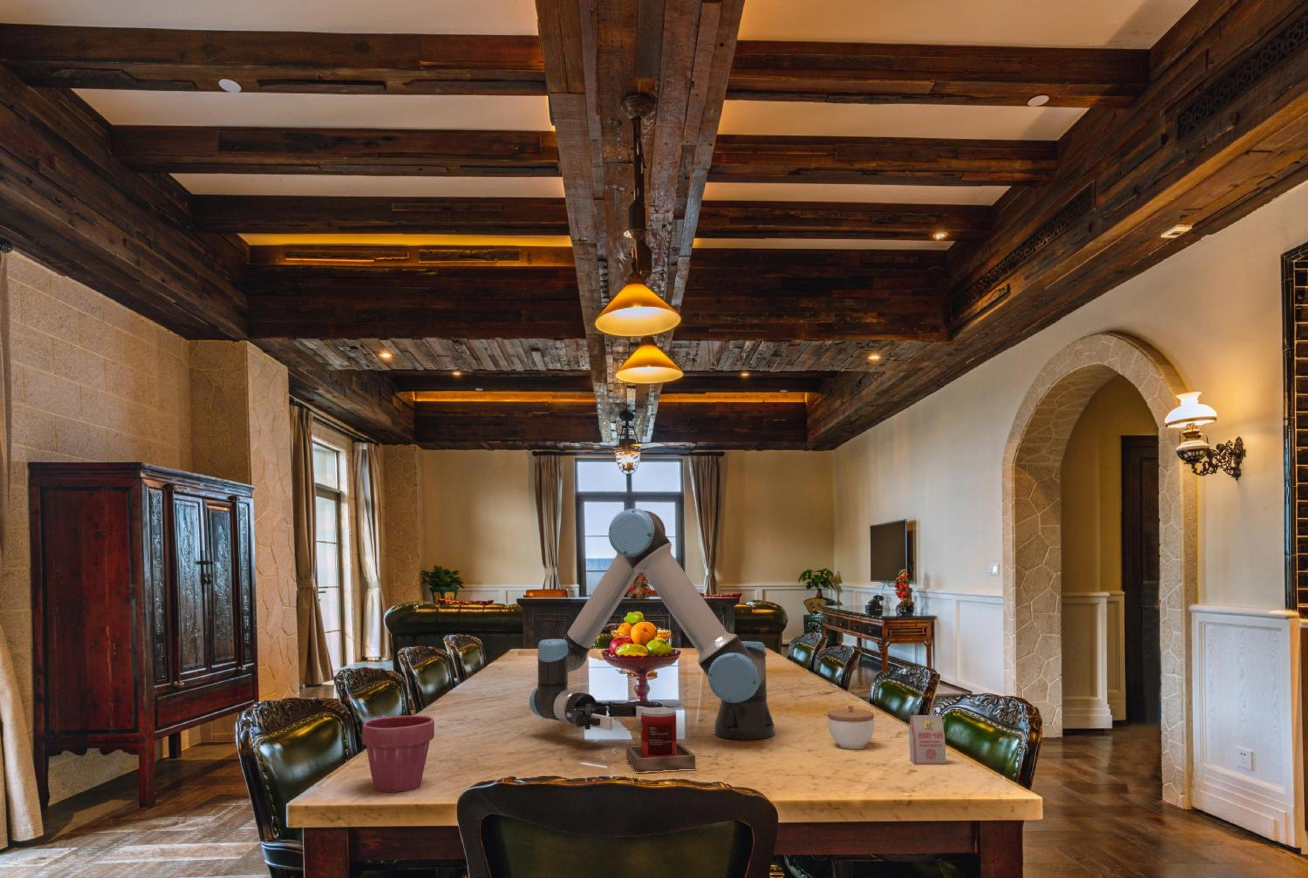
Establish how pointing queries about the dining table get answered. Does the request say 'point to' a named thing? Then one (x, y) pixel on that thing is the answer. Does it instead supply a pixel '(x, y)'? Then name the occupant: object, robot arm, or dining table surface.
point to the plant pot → (397, 750)
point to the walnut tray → (660, 760)
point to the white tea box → (927, 740)
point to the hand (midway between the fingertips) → (634, 719)
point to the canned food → (658, 732)
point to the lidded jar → (851, 727)
